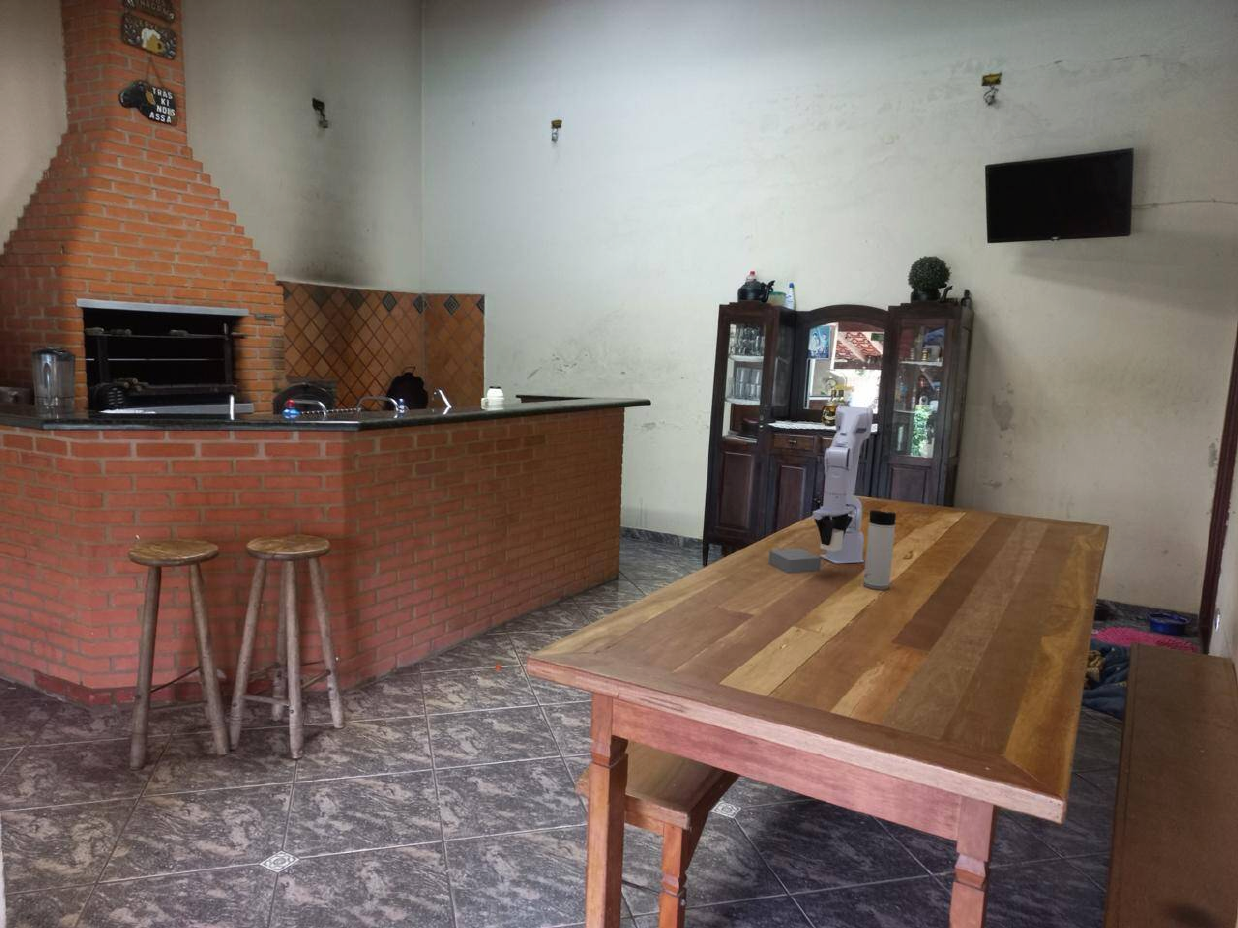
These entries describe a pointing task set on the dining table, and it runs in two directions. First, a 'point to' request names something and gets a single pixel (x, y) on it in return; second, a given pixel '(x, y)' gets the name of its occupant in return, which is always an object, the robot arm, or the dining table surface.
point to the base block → (794, 560)
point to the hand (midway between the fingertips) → (831, 543)
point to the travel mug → (879, 550)
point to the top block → (834, 541)
